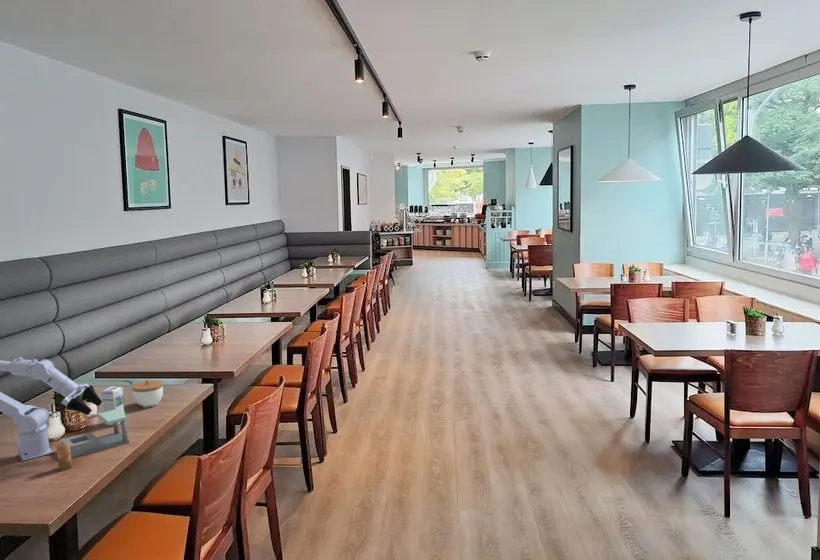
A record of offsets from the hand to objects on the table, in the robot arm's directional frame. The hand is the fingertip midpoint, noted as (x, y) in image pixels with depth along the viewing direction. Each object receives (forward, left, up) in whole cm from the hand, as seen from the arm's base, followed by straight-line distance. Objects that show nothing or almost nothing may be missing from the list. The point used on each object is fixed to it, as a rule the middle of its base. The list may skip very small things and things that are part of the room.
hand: (95, 408), depth 223 cm
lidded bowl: (+31, +39, -16) cm, 52 cm away
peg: (-13, -7, -16) cm, 22 cm away
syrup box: (+13, +26, -16) cm, 33 cm away
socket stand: (0, +6, -16) cm, 17 cm away
